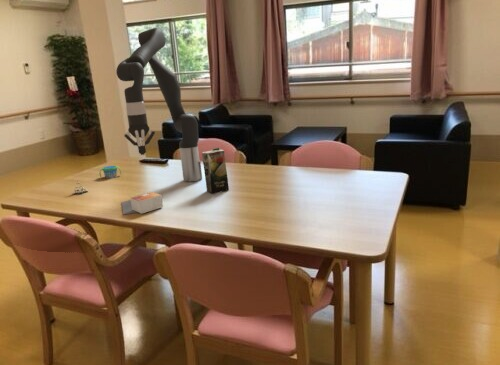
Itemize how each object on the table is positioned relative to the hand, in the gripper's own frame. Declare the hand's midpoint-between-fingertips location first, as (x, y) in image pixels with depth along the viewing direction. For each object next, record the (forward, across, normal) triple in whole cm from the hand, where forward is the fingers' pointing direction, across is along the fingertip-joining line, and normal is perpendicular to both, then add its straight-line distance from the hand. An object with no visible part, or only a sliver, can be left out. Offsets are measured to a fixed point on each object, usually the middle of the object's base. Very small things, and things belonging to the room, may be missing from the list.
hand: (142, 154), depth 171 cm
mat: (+23, +5, -2) cm, 23 cm away
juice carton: (+23, -32, -5) cm, 40 cm away
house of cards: (+23, +31, -35) cm, 52 cm away
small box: (+20, -4, +3) cm, 20 cm away
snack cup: (+23, +15, -59) cm, 65 cm away
